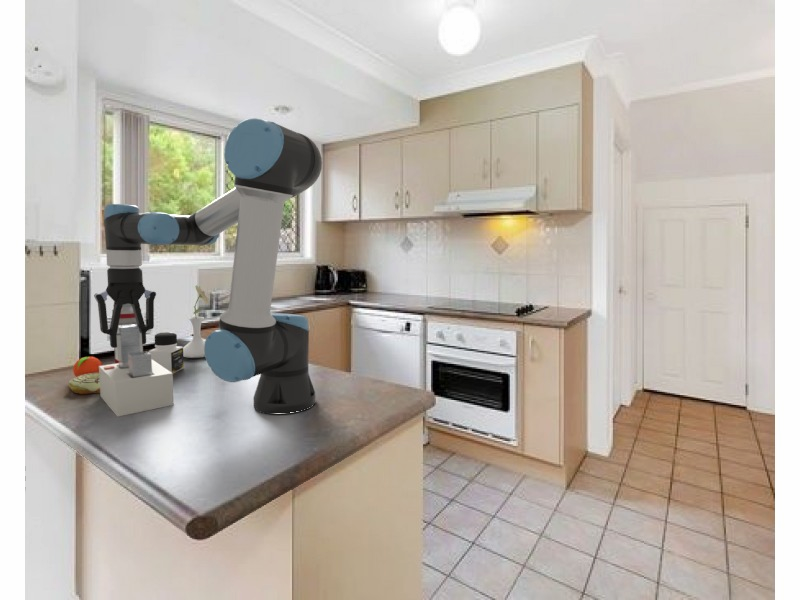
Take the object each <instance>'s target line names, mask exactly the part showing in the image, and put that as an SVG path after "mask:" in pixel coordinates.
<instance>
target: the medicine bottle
mask: <svg viewBox="0 0 800 600" xmlns="http://www.w3.org/2000/svg"><path fill="white" fill-rule="evenodd" d="M154 347H155V348H152V349H150V350H148V352H149V353H150V354H151V359H152V360H154V361H155V362H157V363H158V364H160V365H161V366H162V367H164V368H165V369H167V370H168V371H170V372H171V373H173V375H174V374H175V373H177V372H178V371H181V370H183V369H184V367H185V366H184V357H183V347H184V346H179V345H178V336H177V333H175V332H172V331H163V332H158V333H156V334H155V335H154Z"/></svg>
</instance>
